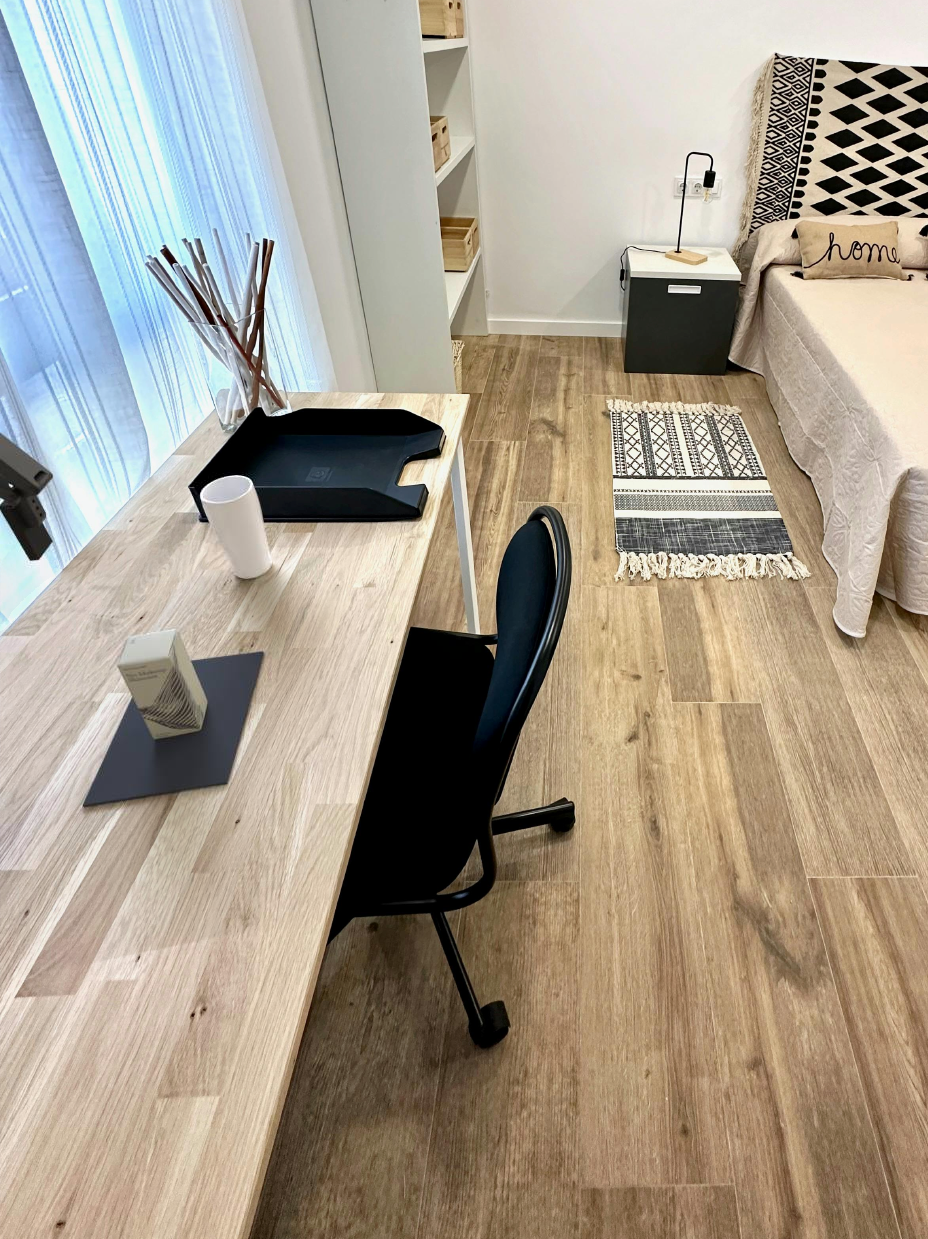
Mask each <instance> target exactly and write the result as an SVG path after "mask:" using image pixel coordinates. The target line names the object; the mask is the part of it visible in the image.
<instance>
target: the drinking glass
mask: <svg viewBox="0 0 928 1239" xmlns="http://www.w3.org/2000/svg"><path fill="white" fill-rule="evenodd" d="M255 488H256V487H255V486H254V483H253V481H252V480H251V479H250V478H249V477H247V476H243V475H229V476H228V475H227V476H224V477H220V478H217V479H215V480H213V481H211V482H210V483H208V484H207V485H205V486H204V487H203V488H202V489H201V492H200V494H199V497H200V500H201V505H202V508H203V511H204V513H205V516H206V518H207V520H208V523H209V525H210V528H212V530H213V532H214V535H215V536H216V538H217V541H218V542H219V544H220V546H221V548H222V550H223V552H224V554H225V555H226V556H225V557H226V558H227V559H228V561H229V564H230V566H231V569H232V570H233V573H234V575H235V576H236V577H237V578H239V579H244V580H251V579H256V578H258V577H260V576H263V575H264V574H266V573H267V572H268V571H269V570H270V568H271V567H272V565H273V557H272V554H271V551H270V547H269V542H268V537H267V533H266V527H265V523H264V518H263V517H264V516H263V511H262V507H261V503H260V499H259V496H258V494H257V490H256V489H255Z"/></svg>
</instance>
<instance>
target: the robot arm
mask: <svg viewBox="0 0 928 1239" xmlns="http://www.w3.org/2000/svg"><path fill="white" fill-rule="evenodd" d="M53 479H54V475H53V473H52V472H51V471H50V470H49V469H48V468H47V467H46V466H43V465H42V464H41V463H40V462H39V461H37V459H34V458H33V457H32V456H31V455H30V454H29V453H27V452H26V451H25V450H23V449H22V448H21V447H19V446H18V445H17V444H15V442H13V441H12V440H11V439H10V438H8V437H7V436H6V435H4V434H3V433H2V432H0V499H1V500H3V501H2V502H1V503H0V513H1V514H2V516H3V518H4V519H5V521H6V523H7V524H8V527H9V528H10V530H11V531H12V533H13V535H14V536H15V538H16V540H17V541H18V543H19V545H20V547H21V548H22V550H23V551H24V553H25V555H26V557H27V558H28V560H29V562H34V561H40V560H41V558H42V557H43V556H44V554H45V553H46V552H47V550H48V549H49V548H50V547H51V545H52V543H53V542H54V541H53V538H52V537H51V534H50V533H49V531H48V529H47V528H46V526H45V524H44V523H43V522H44V521H45V520H46V518H47V512H46V510H45V508H44V505H42V503H41V501H40V499H39V497H38V495H40V494H41V492H42V491H43V490H44V489H45V488H46V487H47V485H48V484H49V483H50V482H51V481H52V480H53ZM10 485H11V486H10Z"/></svg>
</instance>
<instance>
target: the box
mask: <svg viewBox="0 0 928 1239" xmlns="http://www.w3.org/2000/svg"><path fill="white" fill-rule="evenodd" d="M116 666H117V668H118V671H119V673H120V676H121V677H122V679H123V680H124V683H125V685H126V687H127V689H128V691H129V692H130V695H131V698H132V697H133V699H134V701H135V703H136V705H137V707H138V709H139V710H140V713H141V715H142V716H143V719H144V721H145V723H146V725H147V727H148V729H149V731H150V733H151V735H152V737H153V738H154V739H159V738H165V737H171V736H176V735H181V734H186V733H191V732H195V731H199V730H201V727H202V724H203V720H204V716H205V712H206V707H207V699H206V696H205V694H204V692H203V689H202V687H201V684H200V682H199V680H198V677H197V675H196V672H195V670H194V667H193V665H192V663H191V658H190V656H189V653H188V650H187V648H186V646H185V643H184V641H183V639H182V636H181V633H180V630H179V629H178V628H171V629H166V630H165V629H164V630H159V631H151V632H147V633H141V634H135V635H129V636H128V637H127V638H126V640H125V643H124V645H123V648H122V650H121V653H120V656H119V659H118V662H117V665H116Z"/></svg>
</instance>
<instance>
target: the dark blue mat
mask: <svg viewBox="0 0 928 1239" xmlns="http://www.w3.org/2000/svg"><path fill="white" fill-rule="evenodd" d="M264 655H265V652H264V650H262V651H261V650H260V651H253V652H246V653H238V654H237V653H236V654H231V655H223V656H215V657H208V658H207V657H206V658H200V659H192V660H191V659H190V660H191V663H192V665H193V667H194V670H195V672H196V675H197V677H198V680H199V682H200V684H201V687H202V689H203V692H204V694H205V696H206V699H207V707H206V712H205V716H204V720H203V724H202V727H201V730H199V731H195V732H191V733H186V734H181V735H176V736H171V737H165V738H159V739H154V738H153V737H152V735H151V733H150V731H149V729H148V727H147V725H146V723H145V721H144V719H143V716H142V715H141V713H140V710H139V709H138V707H137V705H136V703H135V701H134V699H133V697H132V696H131V699H130V700H129V702H128V705H127V707H126V709H125V712H124V713H123V716H122V718H121V720H120V723H119V725H118V726H117V729H116V731H115V733H114V736H113V738H112V739H111V742H110V744H109V746H108V749H107V751H106V754H105V755H104V757H103V759H102V762H101V763H100V766H99V768H98V770H97V772H96V775H95V776H94V779H93V781H92V783H91V786H90V788H89V790H88V792H87V795H86V797H85V799H84V801H83V803H82V807H83V808H87V807H94V806H100V805H101V806H102V805H106V804H113V803H118V802H125V801H132V800H137V799H143V798H151V797H155V796H161V795H162V796H163V795H168V794H175V793H180V792H186V791H187V792H188V791H193V790H200V789H205V788H212V787H218V786H225V785H228V783H229V780H230V776H231V773H232V769H233V765H234V761H235V758H236V754H237V751H238V747H239V744H240V740H241V736H242V733H243V729H244V726H245V723H246V719H247V715H248V711H249V708H250V704H251V701H252V698H253V694H254V690H255V687H256V684H257V680H258V676H259V673H260V669H261V665H262V661H263V659H264Z"/></svg>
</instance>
